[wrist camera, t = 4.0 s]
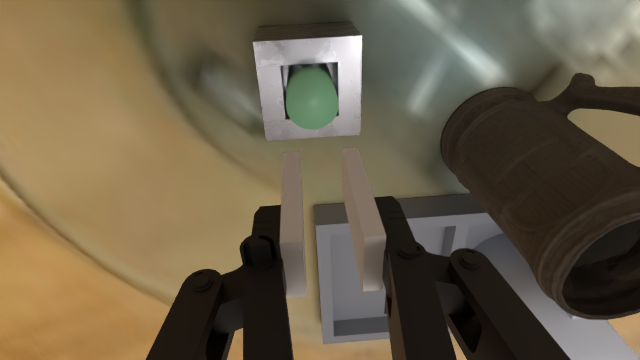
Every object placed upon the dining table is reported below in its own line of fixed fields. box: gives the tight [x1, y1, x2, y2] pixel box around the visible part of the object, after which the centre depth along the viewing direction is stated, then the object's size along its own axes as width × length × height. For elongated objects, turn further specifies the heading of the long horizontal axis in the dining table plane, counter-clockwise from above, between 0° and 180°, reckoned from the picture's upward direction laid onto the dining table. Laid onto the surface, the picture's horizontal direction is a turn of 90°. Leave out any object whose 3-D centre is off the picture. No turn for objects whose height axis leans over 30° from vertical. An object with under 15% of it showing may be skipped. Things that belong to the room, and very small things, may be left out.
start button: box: [286, 63, 339, 130], centre depth 29 cm, size 4×4×6 cm
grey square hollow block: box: [253, 22, 362, 141], centre depth 32 cm, size 8×8×6 cm
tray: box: [314, 194, 503, 344], centre depth 47 cm, size 32×21×4 cm, turn 92°
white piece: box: [474, 233, 640, 360], centre depth 40 cm, size 10×13×16 cm
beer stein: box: [441, 73, 640, 320], centre depth 30 cm, size 15×11×20 cm
